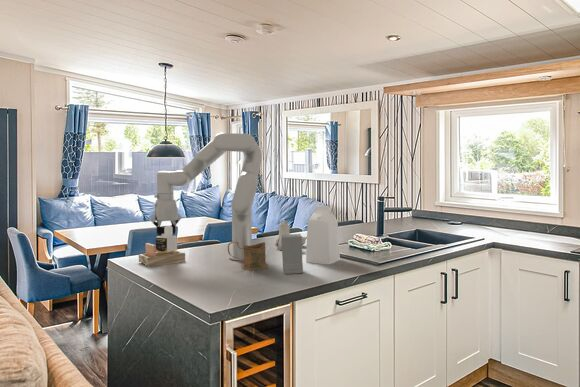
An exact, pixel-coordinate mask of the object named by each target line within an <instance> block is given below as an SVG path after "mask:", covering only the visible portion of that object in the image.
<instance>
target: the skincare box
mask: <svg viewBox="0 0 580 387" xmlns="http://www.w3.org/2000/svg"><path fill="white" fill-rule="evenodd" d="M301 236H302V234H301V233H292V234H291V233H290V234H289V235H282V250H281V253H282V254H281V256H282V272H283V275H293V274H303V273H304V266H303V247H302V246H303V245H302V241H301Z"/></svg>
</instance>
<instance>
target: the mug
mask: <svg viewBox="0 0 580 387" xmlns="http://www.w3.org/2000/svg"><path fill="white" fill-rule="evenodd" d="M235 242H237V246H238V248H240V247H239V245H238V241H234V242H232V241H231V242H228V244H227V252H228V255H229V257H230V256H231V255H232V254H231V252H230V245H231V244H232V243H235ZM243 247H244V248H240V249H244V260H239V259H238V258H237V257H234V256H231V257H234V258H237V259H238V260H237V261H240V262H241V263H243V264H242V265H241V269H243V270H249V271H257V270H264V269H267V268H268V267H269V265H268V264H267V263H266V261H267V259H266V242H264V241H263V242H260V243H256V244H252V245H251V246H243Z"/></svg>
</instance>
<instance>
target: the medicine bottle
mask: <svg viewBox="0 0 580 387" xmlns="http://www.w3.org/2000/svg"><path fill="white" fill-rule="evenodd" d="M160 227H161V234H162V235H161V236H160V235H158V236H155V247H156V252H166V253H167V252H172V251H176V250H177V251H178V236H177V235H175V234H173V227H172V226H171V225H162V226H161V225H160Z"/></svg>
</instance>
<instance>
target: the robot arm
mask: <svg viewBox="0 0 580 387" xmlns="http://www.w3.org/2000/svg"><path fill="white" fill-rule="evenodd" d="M226 152H237V153H238V152H240V153H241V152H242V153H243V156H244V157H243V158H244V159H243V162H242V166H241V170H240V173H239V176H238V177H237V182H236V186H235V190H234V193H233V196H232V199H231V203H230V205H231V234H232V235H231V239H232V240H231V242H234V241H238V245H239V247H240V248H244V247H243V246H251V245H253V237H252V236H253V235H252V232H253V231H252V230H253V229H252V226H253V224H252V220H253V219H252V208H253V204H254V199H255V196H256V192H257V189H258V185H259V181H258V177H259V174H260V169H261V165H262V160H263V155H262V150H261V147H260V146H259V144H258V143H257V142H256V138H254V136H253V135H252V134H249V133H239V132H238V133H234V132H233V133H231V132H220V133H216V134H215V136H214V137H213V139H211V140H210V141H209V142H208V143H207V144H206V145H205V146H203V147H202V148H201V149H200V150H199V151H198V152H197V153H195V155H194V157H193V158H192V159H191V161H189V162H188V163H186V165H185V166H184V167H183V168H181V169H180V170H175V171H174V170H173V171H172V170H171V171H170V170H160V171H157V173H156V194H154V196H153V198H155V199H156V200H155V203H154V214H153V215H152V216H151V218H150V219H149V221H150V222H151V223H152V224H153V225H154V226H155V227H156V234H157V235H158V236H161V235H162V234H161V225H162V222H170V223H171V225H170V226H172V227H173V234H172V235H175V234H176V226H177V224H179V222H180V221H181V219H182V216H181V215H180V213H178V205H177V201H176V199H175V198H174V186H176V187H184V186H188V184H190V183H192V181H193V180H194V179H196V178H197V176H199V175H200V174H201V173H202V172H204V171H205V170H207V169H208V168H209V167H210V166H211V165H213V163H215V162H216V161H217V160H218V159H220V157H222V156H223V155H224V154H225V153H226ZM231 244H232V247H231V248H232V254H231V256H234V257H237V258H238V259H239V260H241V261H244V249H240V248H238V246H237V242H235V243H231ZM231 256H230V255H229V257H228V258H229V259H230V260H232V261H239V260H238V259H237V258H234V257H231Z"/></svg>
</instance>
